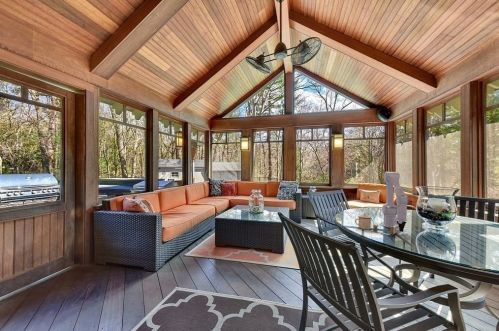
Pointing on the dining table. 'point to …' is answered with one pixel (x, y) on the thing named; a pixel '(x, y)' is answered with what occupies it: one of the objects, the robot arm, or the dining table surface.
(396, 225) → the beige flat panel
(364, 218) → the teacup with lid
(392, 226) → the hinge post
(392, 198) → the robot arm
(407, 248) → the dining table surface
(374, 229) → the post
